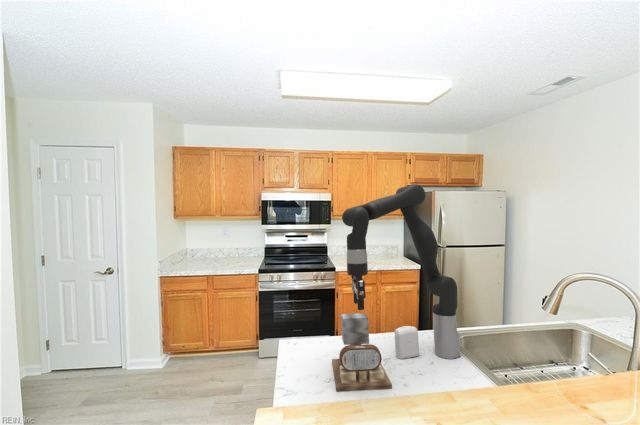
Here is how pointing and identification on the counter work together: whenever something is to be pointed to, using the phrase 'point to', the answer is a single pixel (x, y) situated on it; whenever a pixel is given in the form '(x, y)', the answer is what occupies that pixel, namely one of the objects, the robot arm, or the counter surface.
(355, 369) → the tin
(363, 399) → the counter surface
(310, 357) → the counter surface
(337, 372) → the display stand
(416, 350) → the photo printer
